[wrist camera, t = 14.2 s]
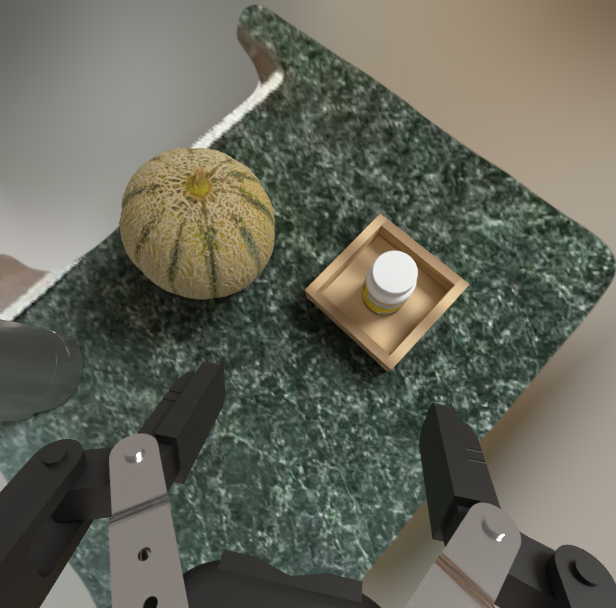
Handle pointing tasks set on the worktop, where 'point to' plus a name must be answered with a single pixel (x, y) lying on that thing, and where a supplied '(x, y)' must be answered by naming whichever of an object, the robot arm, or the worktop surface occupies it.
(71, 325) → the worktop surface
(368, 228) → the box
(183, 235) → the cantaloupe
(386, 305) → the supplement bottle
